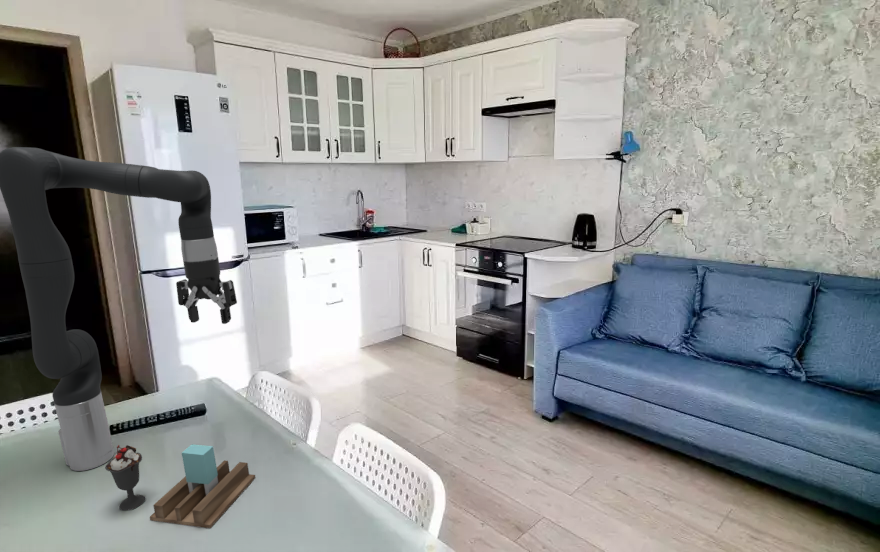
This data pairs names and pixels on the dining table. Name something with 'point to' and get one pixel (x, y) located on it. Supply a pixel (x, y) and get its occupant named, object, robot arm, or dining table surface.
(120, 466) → the sundae
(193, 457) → the aqua box with feet
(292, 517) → the dining table surface
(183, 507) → the rail
